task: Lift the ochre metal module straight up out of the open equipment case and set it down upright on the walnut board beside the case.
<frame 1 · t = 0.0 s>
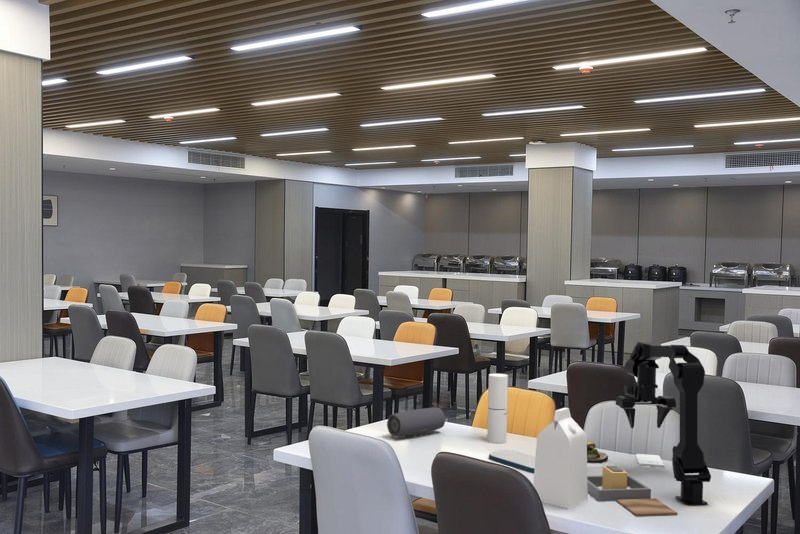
hand: (645, 428, 241), 15 cm above the table, fingers open, 9 cm apart
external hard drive: (522, 465, 249), on the table
walnut board: (646, 508, 207), on the table
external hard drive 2: (649, 464, 254), on the table
burger: (590, 460, 257), on the table
ochre module: (614, 480, 220), in the equipment case
bluetooth speaker: (416, 435, 285), on the table
milk: (560, 499, 213), on the table
equipment case: (614, 492, 220), on the table
cylindrical container: (496, 441, 278), on the table
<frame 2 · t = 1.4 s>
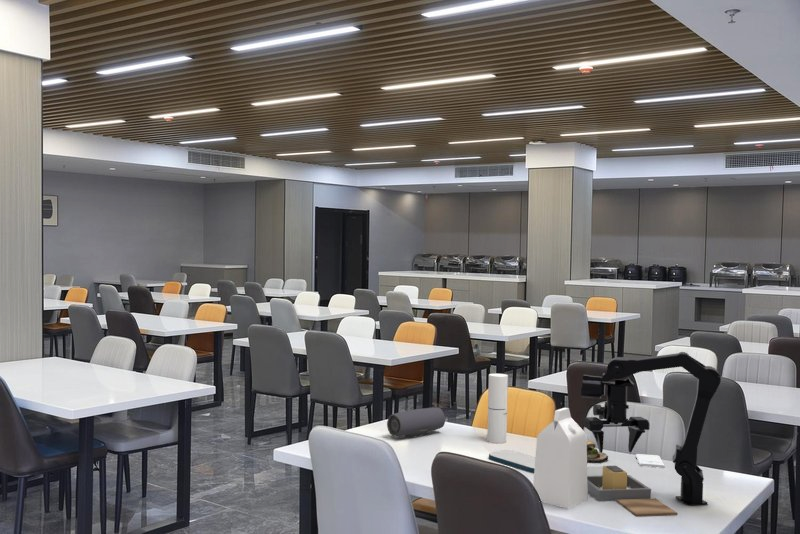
hand: (615, 452, 220), 12 cm above the table, fingers open, 9 cm apart
nothing on the table moved.
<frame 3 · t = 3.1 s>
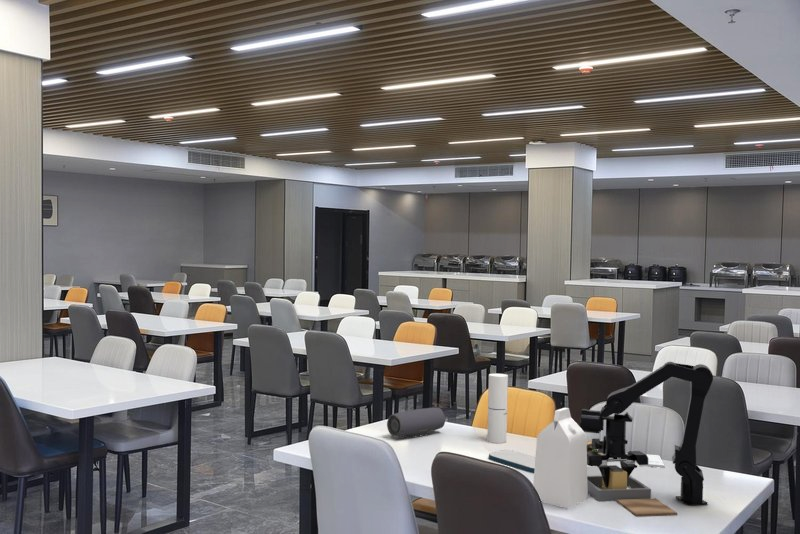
hand: (614, 487, 220), 2 cm above the table, fingers closed on ochre module, 4 cm apart
ochre module: (614, 480, 220), in the equipment case, touching gripper
everything else where it was.
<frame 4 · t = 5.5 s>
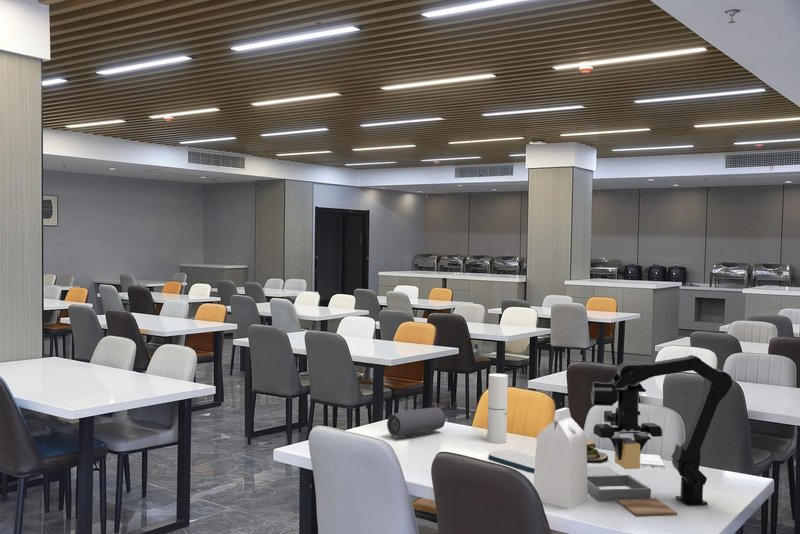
hand: (627, 459, 215), 11 cm above the table, fingers closed on ochre module, 4 cm apart
ochre module: (627, 452, 215), point 13 cm above the table, touching gripper
everything else where it was.
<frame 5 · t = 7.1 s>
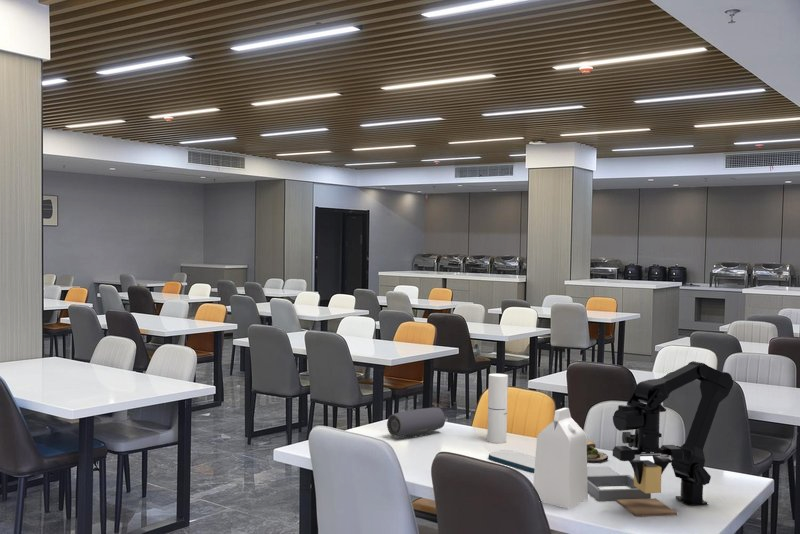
hand: (647, 483, 207), 7 cm above the table, fingers closed on ochre module, 4 cm apart
ochre module: (647, 475, 206), point 9 cm above the table, touching gripper
everything else where it was.
when the fingers open (4 cm above the table, at t = 8.2 s): ochre module drops 2 cm, resting on walnut board.
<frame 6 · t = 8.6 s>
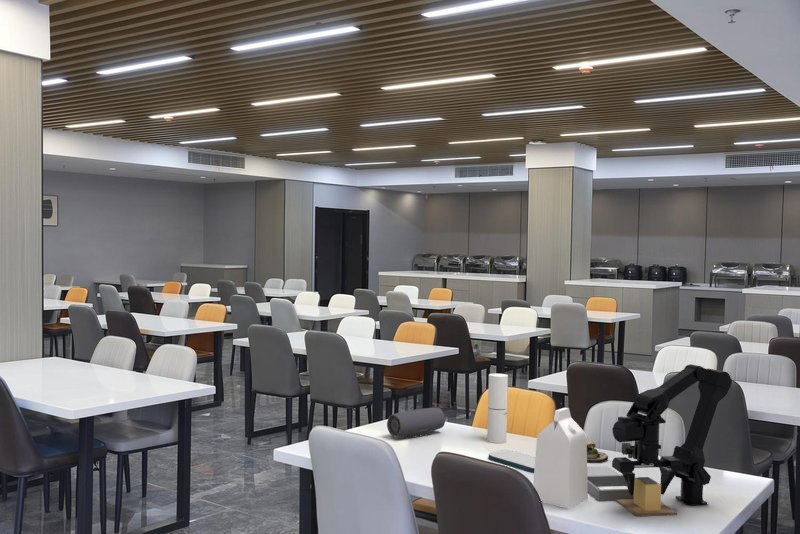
hand: (646, 494, 207), 4 cm above the table, fingers open, 9 cm apart
ochre module: (647, 492, 206), on the walnut board, point 4 cm above the table
everything else where it was.
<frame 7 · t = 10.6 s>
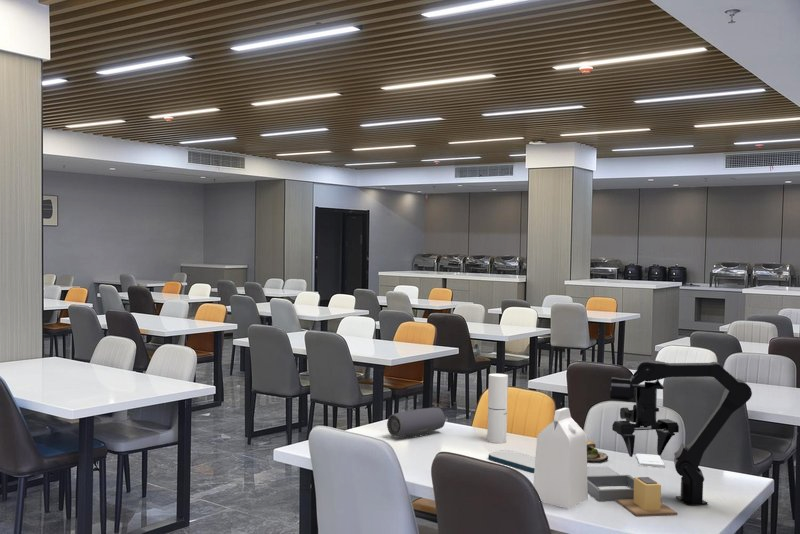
hand: (645, 455, 217), 12 cm above the table, fingers open, 9 cm apart
nothing on the table moved.
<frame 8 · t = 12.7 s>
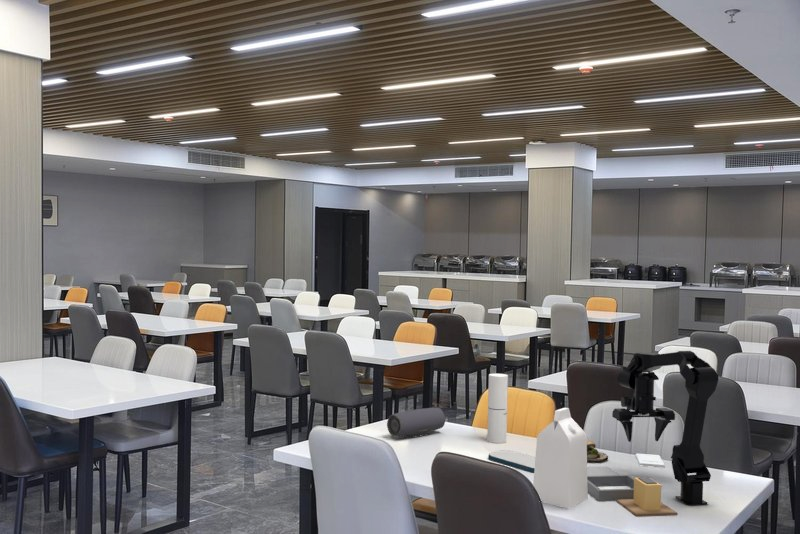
hand: (643, 441, 234), 12 cm above the table, fingers open, 9 cm apart
nothing on the table moved.
at the end: ochre module inside the target area on the walnut board (0.1 cm from its centre), point 4.3 cm above the walnut board's base; ochre module tilted 0°; the gripper is holding nothing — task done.
